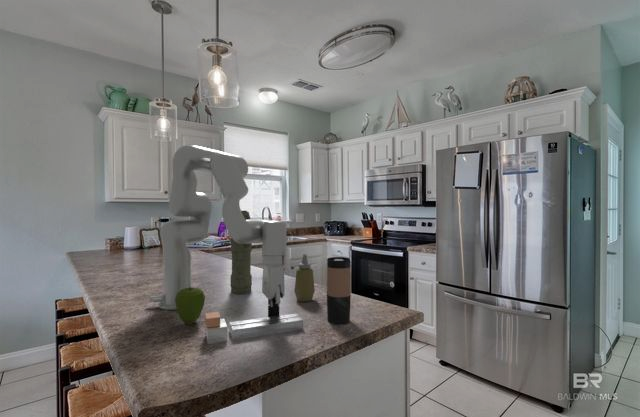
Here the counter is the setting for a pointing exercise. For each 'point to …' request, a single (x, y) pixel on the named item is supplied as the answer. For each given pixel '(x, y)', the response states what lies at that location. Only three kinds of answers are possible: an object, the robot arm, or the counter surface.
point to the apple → (189, 304)
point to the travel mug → (338, 290)
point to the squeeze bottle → (304, 281)
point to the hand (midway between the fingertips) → (273, 318)
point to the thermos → (241, 265)
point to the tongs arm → (262, 320)
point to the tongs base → (252, 329)
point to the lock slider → (212, 319)
